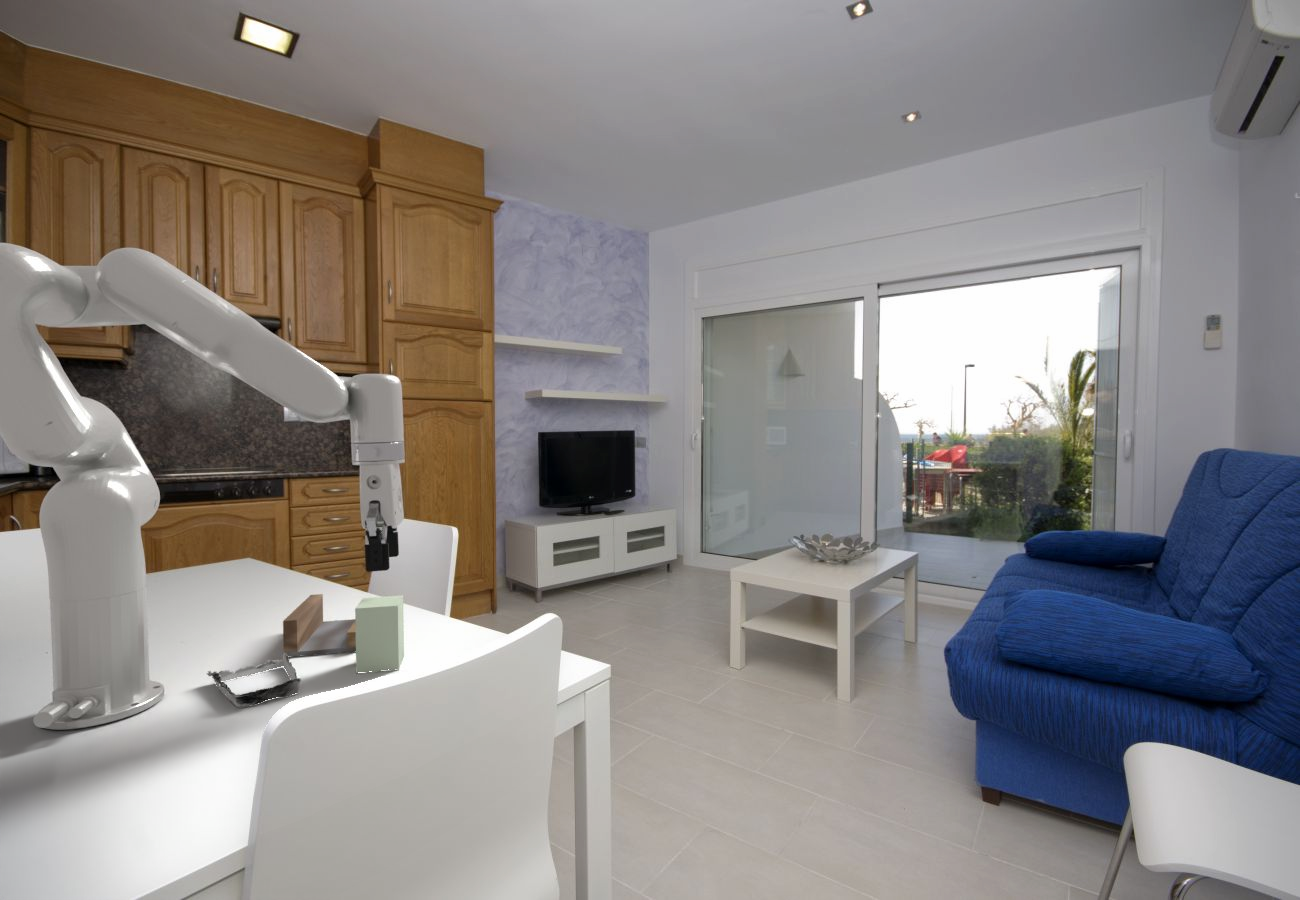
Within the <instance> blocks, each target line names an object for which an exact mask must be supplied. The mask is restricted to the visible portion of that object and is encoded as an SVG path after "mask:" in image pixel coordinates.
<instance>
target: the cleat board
mask: <svg viewBox="0 0 1300 900" xmlns="http://www.w3.org/2000/svg"><path fill="white" fill-rule="evenodd" d="M323 596H324V595H323V593H320V594H319V593H318V594H310V595H309V596H308V597H307V598H306V599H305V600H304V601H302V602H301V603H300V605H298V606H297V607H296V608H295V609H294V610H293V611H292V612H291V613H290V614H289V615H287V617H285V618H284V619H283V621H282V633H283V634H282V635H283V636H282V637H283V638H282V639H283V653H284V652H285V653H286V654H287V655H288V656H298V657H301V656H300V655H310V656H315V655H314V654H322V655H328V654H327V653H334V654H339V653H338V652H345V653H354V652H355V651H356V626H355V619H354V618H353V619H343V620H341V619H339V620H338V619H337V620H328V621H326V620H325V621H324V601H323V600H324V599H323V598H324V597H323ZM353 651H354V652H353ZM355 653H356V652H355Z"/></svg>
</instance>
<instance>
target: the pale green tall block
mask: <svg viewBox="0 0 1300 900" xmlns="http://www.w3.org/2000/svg"><path fill="white" fill-rule="evenodd" d="M354 613H355V626H356V652H355V671H356V672H355V673H358V672H369V671H372V672H373V673H378V672H377V671H381V670H388V669H389V670H394V671H396V670H395V669H399V670H400V667H401V666H400V665H402V662H403V660H404V658H405V633H404V632H405V631H404V630H405V629H404V628H405V627H404V626H405V625H404V623H405V622H404V621H405V619H404V595H403V594H402V595H388V596H386V595H385V596H372V597H362V599H361V600H360V601H359V602H358V604H357V606H355V609H354Z"/></svg>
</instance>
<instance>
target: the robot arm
mask: <svg viewBox="0 0 1300 900" xmlns="http://www.w3.org/2000/svg"><path fill="white" fill-rule="evenodd" d="M37 325H38V326H44V327H48V328H49V327H50V328H84V327H86V328H87V327H88V328H89V327H111V326H113V327H114V326H131V325H132V326H133V325H134V326H135V325H136V326H137V325H145V326H147V327H149V328H151V329H152V330H154V331H156V332H157V333H159V334H161V335H162V336H164V337H165V338H167V339H169V340H170V341H172V342H174V343H175V344H177V345H179V346H181V347H182V348H183V349H185V350H186V351H188V352H190V354H191V353H192V354H193V355H195V356H196V357H198V358H200V359H201V360H203V361H204V362H206V363H207V364H209V365H211V367H212V366H213V367H214V368H216V369H218V370H221V371H224V372H226V373H228V374H230V375H232V376H233V377H236V378H237V379H239V380H240V381H242V382H244V383H246V384H247V385H249V386H250V387H252V388H253V389H255V390H257V391H258V392H261V393H262V394H263V395H265V396H266V397H268V398H270V399H272V400H273V401H275V402H276V403H277V404H280V405H281V406H283V407H284V408H286V409H287V410H289V411H291V412H292V413H294V414H296V415H297V416H298V417H300V418H302V419H304V420H306V421H309V422H313V423H317V424H326V423H331V422H339V421H346V420H349V422H350V423H349V424H350V443H351V444H350V446H351V447H350V448H351V463H352V464H351V465H353V466H359V503H360V504H359V506H360V520H361V526H362V528H363V529H364V530H365V532H364V533H365V536H364V537H365V538H364V556H365V557H364V560H365V571H366V572H368V573H371V572H381V571H382V572H383V571H384V572H385V571H389V570H390V566H391V565H390V558H395V557H396V558H397V557H398V556H399V555H400V554H399V553H400V552H399V551H400V549H399V532H398V526H399V525H400V524H401V523H402V522H403V521H404V519H405V518H404V517H405V513H404V502H403V501H404V500H403V489H402V477H401V469H400V464H404V463H406V462H405V461H406V460H405V459H406V458H405V457H406V455H405V435H404V434H405V433H404V412H403V410H404V408H403V387H402V382H401V380H400V378H399V377H398V376H396V375H393V374H389V373H388V374H387V373H361V374H356V375H353V376H352V377H351V376H338V375H337V374H336V373H334V372H333V371H332V370H330V369H329V368H327V367H325V366H324V365H323V364H321V363H319V362H318V361H316V360H314V359H313V358H312V357H311V356H309V355H307V354H305V353H304V352H303V351H302V350H300V349H298V348H297V347H296V346H293V345H292V344H290V343H289V342H287V341H286V340H284V339H283V338H281V337H280V336H278V335H277V334H275V333H273V332H272V331H270V330H269V329H267V328H266V327H265V326H264V325H262V324H261V323H260V322H259V321H258V320H256V319H255V318H254V317H252V316H250V315H248V314H247V313H246V312H244V311H243V310H241V309H239V307H237V306H235V305H233V304H232V303H231V302H229V301H228V300H227V299H224V298H223V297H221V296H220V295H218V294H217V293H216V292H214V291H212V290H211V289H209V288H207V287H206V286H205V285H203V284H202V283H200V282H198V281H197V280H195V279H194V278H193V277H191V276H190V275H188V274H187V273H185V272H183V271H182V270H181V269H179V268H177V267H176V266H175V265H173V264H171V263H170V262H169V261H167V260H165V259H164V258H162V257H160V256H158V255H157V254H155V253H152V252H151V251H148V250H145V249H143V248H142V249H141V248H137V247H136V248H135V247H121V248H117V249H114V250H112V251H110V252H107V254H105V255H104V256H103V257H102V258H101V259H100V260H99V262H98V264H97V265H61V264H59V263H57V262H56V261H54V260H53V259H50V258H49V257H47V256H45V255H43V254H41V253H39V252H37V251H35V250H32V249H30V248H27V247H24V246H22V245H17V244H14V243H8V242H0V437H1V438H2V440H3V442H4V443H5V445H6V446H7V448H8V450H9V451H10V452H11V453H12V454H13V455H14V456H15V457H16V458H18V459H19V460H21V461H23V462H24V463H27V464H29V465H31V466H37V467H44V468H47V467H49V468H53V470H54V472H55V473H56V475H57V477H58V478H59V480H60V481H58V482H57V483H55V484H54V485H53V486H52V487H51V488H50V489H49V490H48V491H47V493H46V494H45V496H44V497H43V499H42V502H41V505H40V508H39V509H40V510H39V527H40V529H39V530H40V534H41V538H42V542H43V547H44V551H45V556H46V564H47V575H48V595H49V596H48V597H49V607H50V608H49V609H50V613H49V614H50V635H51V639H50V640H51V659H52V660H51V661H52V683H53V684H52V686H53V691H52V693H51V694H52V701H51V702H50V703H47V704H45V706H43V707H42V708H41V709H40V710H39V711H38V712H37V714H35V715H34V718H33V720H32V721H33V724H34V726H36V727H37V728H40V729H41V728H43V729H47V730H54V731H55V730H59V731H60V730H61V731H62V730H63V731H64V730H76V729H85V728H90V727H95V726H100V725H104V724H108V723H111V722H116V721H119V720H122V719H124V718H125V719H126V718H128V717H131V716H134V715H136V714H138V713H141V712H143V711H145V710H148V709H149V708H151V707H153V706H155V705H157V704H158V702H159V701H161V700H162V699H163V698H164V696H165V686H164V684H162V683H161V682H159V681H157V680H156V681H155V680H150V653H149V652H150V650H149V649H150V648H149V623H148V621H149V618H148V615H149V614H148V586H147V571H146V558H145V557H146V556H145V551H144V545H143V539H142V531H141V527H142V526H144V525H145V524H146V523H148V522H149V521H150V520H152V518H153V516H155V514H157V511H158V509H159V506H160V502H161V501H160V500H161V495H160V493H161V492H160V489H159V486H158V484H157V481H156V480H155V478H154V476H153V474H152V472H151V470H150V469H149V467H148V465H147V464H146V461H145V460H144V458H143V456H142V455H141V453H140V451H139V449H138V448H137V447H136V445H135V442H134V441H133V438H131V436H130V434H129V433H128V431H127V429H126V427H125V426H124V424H123V422H122V421H121V420H120V418H119V417H118V416H117V415H116V413H115V412H113V410H112V409H110V408H109V407H108V406H107V405H105V404H103V403H102V402H99V401H98V400H95V399H93V398H89V397H86V396H82V395H80V393H79V392H78V391H77V389H76V388H75V386H74V385H73V383H72V382H71V380H70V379H69V377H68V375H67V373H66V372H65V371H64V369H63V367H62V365H61V362H60V360H59V359H58V358H57V356H56V355H55V352H54V351H53V350H52V349H51V347H50V345H49V344H48V342H46V341H45V339H44V337H42V335H41V333H39V330H38V327H37Z"/></svg>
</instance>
